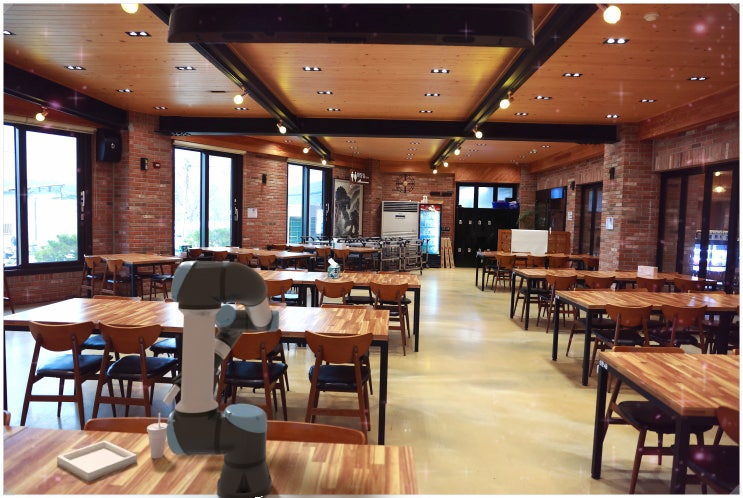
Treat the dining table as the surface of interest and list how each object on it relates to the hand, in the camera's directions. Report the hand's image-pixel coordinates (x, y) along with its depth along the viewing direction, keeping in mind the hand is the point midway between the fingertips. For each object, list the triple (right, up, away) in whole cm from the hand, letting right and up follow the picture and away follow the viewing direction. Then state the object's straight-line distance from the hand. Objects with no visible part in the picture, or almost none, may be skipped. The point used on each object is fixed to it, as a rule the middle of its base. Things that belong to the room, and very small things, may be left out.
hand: (177, 407), depth 171 cm
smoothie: (-4, -14, -6) cm, 16 cm away
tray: (-20, -13, -13) cm, 27 cm away
